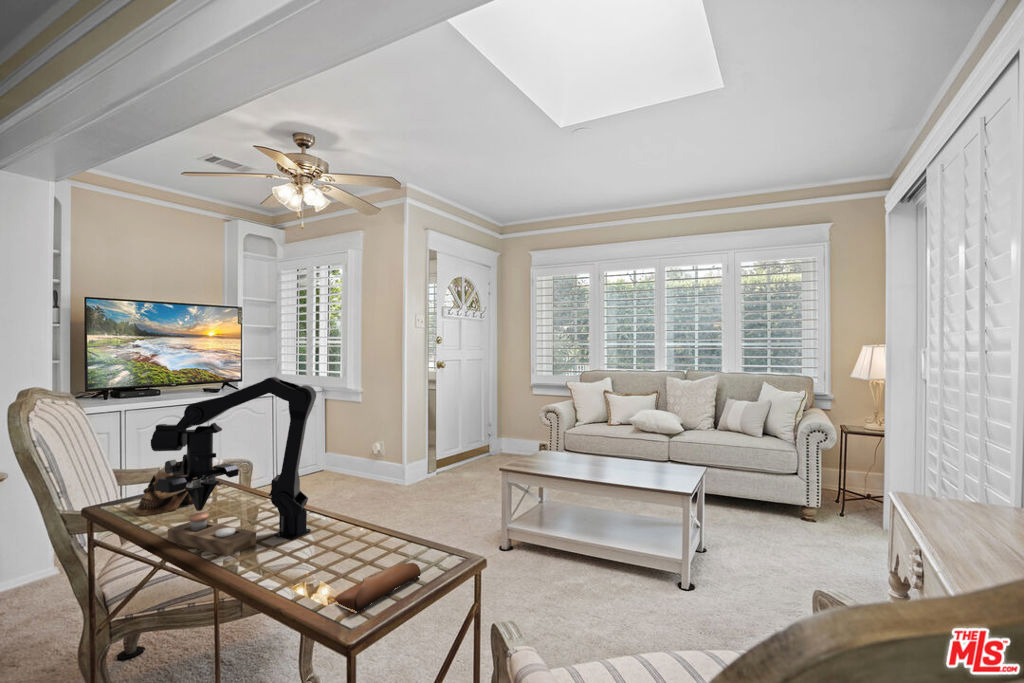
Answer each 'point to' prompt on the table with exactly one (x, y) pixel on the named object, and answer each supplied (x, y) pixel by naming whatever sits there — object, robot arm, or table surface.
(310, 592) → the table surface
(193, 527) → the terracotta plunger
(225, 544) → the walnut panel
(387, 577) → the sunglasses case
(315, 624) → the table surface
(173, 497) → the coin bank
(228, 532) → the white domed knob
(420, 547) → the table surface
